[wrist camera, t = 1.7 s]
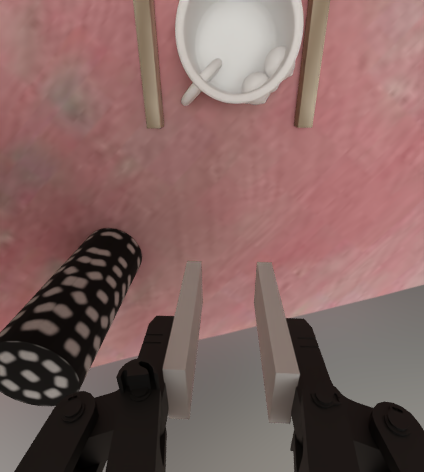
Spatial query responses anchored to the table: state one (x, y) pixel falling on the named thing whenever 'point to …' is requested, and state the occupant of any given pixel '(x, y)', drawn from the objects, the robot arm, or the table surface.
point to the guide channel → (308, 72)
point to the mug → (238, 47)
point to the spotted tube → (67, 320)
